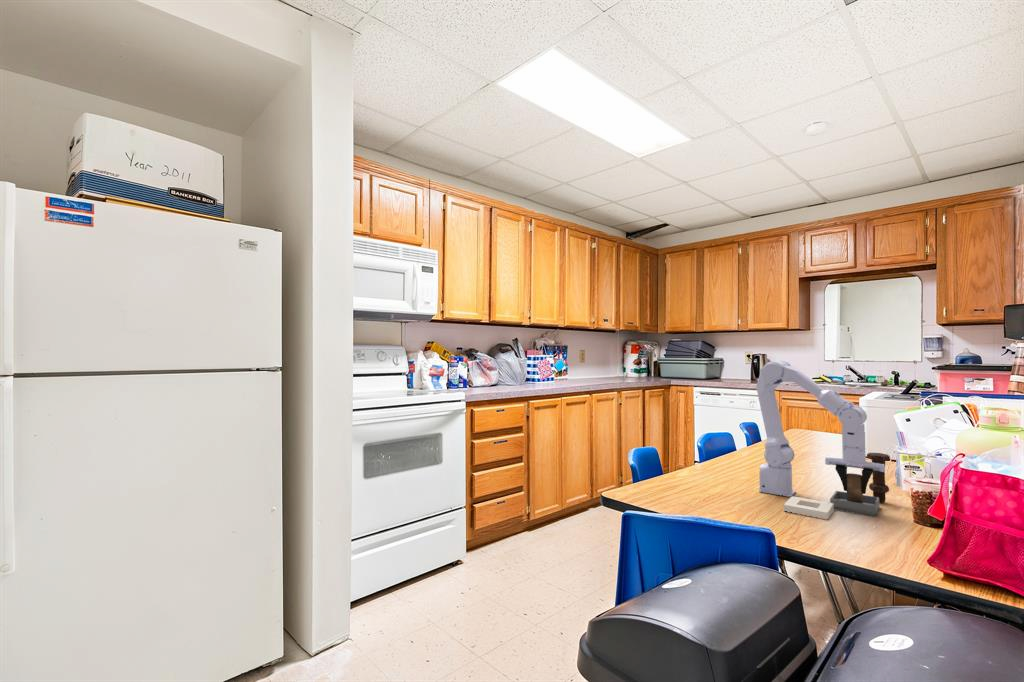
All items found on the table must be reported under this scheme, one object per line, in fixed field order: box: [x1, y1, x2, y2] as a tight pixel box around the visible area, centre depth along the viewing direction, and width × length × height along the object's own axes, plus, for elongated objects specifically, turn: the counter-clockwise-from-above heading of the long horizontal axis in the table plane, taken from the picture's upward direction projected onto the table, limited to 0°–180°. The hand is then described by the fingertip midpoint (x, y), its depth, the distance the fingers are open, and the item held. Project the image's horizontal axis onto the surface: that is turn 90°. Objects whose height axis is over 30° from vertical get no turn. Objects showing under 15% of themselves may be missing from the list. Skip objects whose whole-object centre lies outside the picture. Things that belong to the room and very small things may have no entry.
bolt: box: [866, 452, 891, 504], centre depth 151 cm, size 6×5×15 cm
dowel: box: [846, 472, 864, 503], centre depth 145 cm, size 4×4×8 cm
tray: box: [829, 490, 880, 517], centre depth 145 cm, size 11×11×3 cm
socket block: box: [783, 495, 835, 521], centre depth 143 cm, size 11×11×2 cm
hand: (854, 491), depth 146 cm, fingers closed on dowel, 4 cm apart
